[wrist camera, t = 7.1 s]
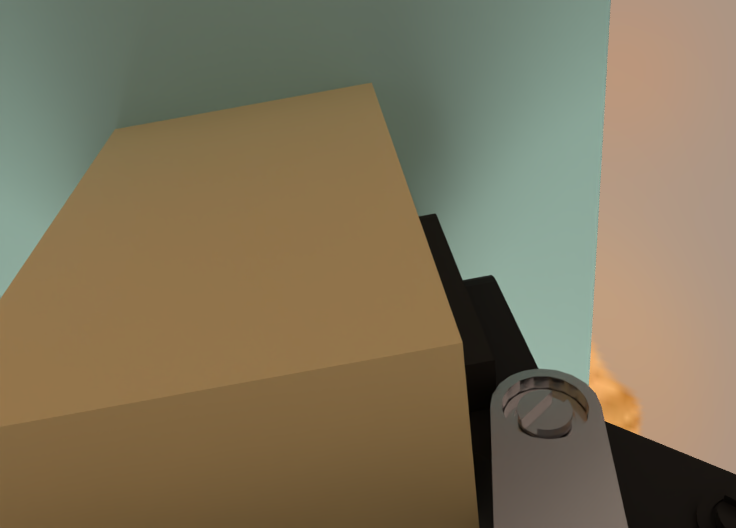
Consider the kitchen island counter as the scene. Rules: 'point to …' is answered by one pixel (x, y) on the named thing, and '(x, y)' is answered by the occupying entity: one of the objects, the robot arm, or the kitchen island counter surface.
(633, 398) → the kitchen island counter surface
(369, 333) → the lid
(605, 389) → the kitchen island counter surface
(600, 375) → the kitchen island counter surface
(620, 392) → the kitchen island counter surface
